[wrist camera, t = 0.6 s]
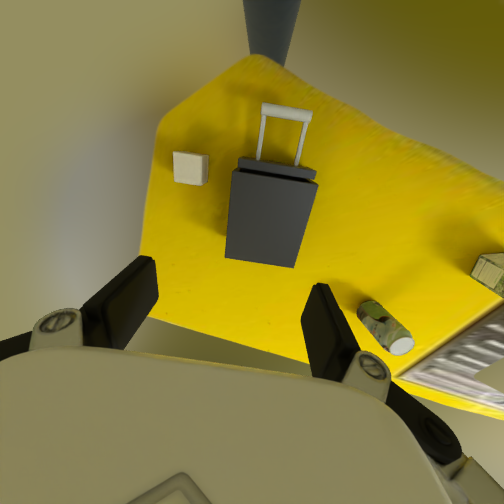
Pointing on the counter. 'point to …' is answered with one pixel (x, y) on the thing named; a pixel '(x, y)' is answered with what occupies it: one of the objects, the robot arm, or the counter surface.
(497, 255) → the syrup box
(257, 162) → the dark grey drawer
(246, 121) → the counter surface
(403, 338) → the beverage can
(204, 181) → the block
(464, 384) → the counter surface
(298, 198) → the dark grey drawer box
